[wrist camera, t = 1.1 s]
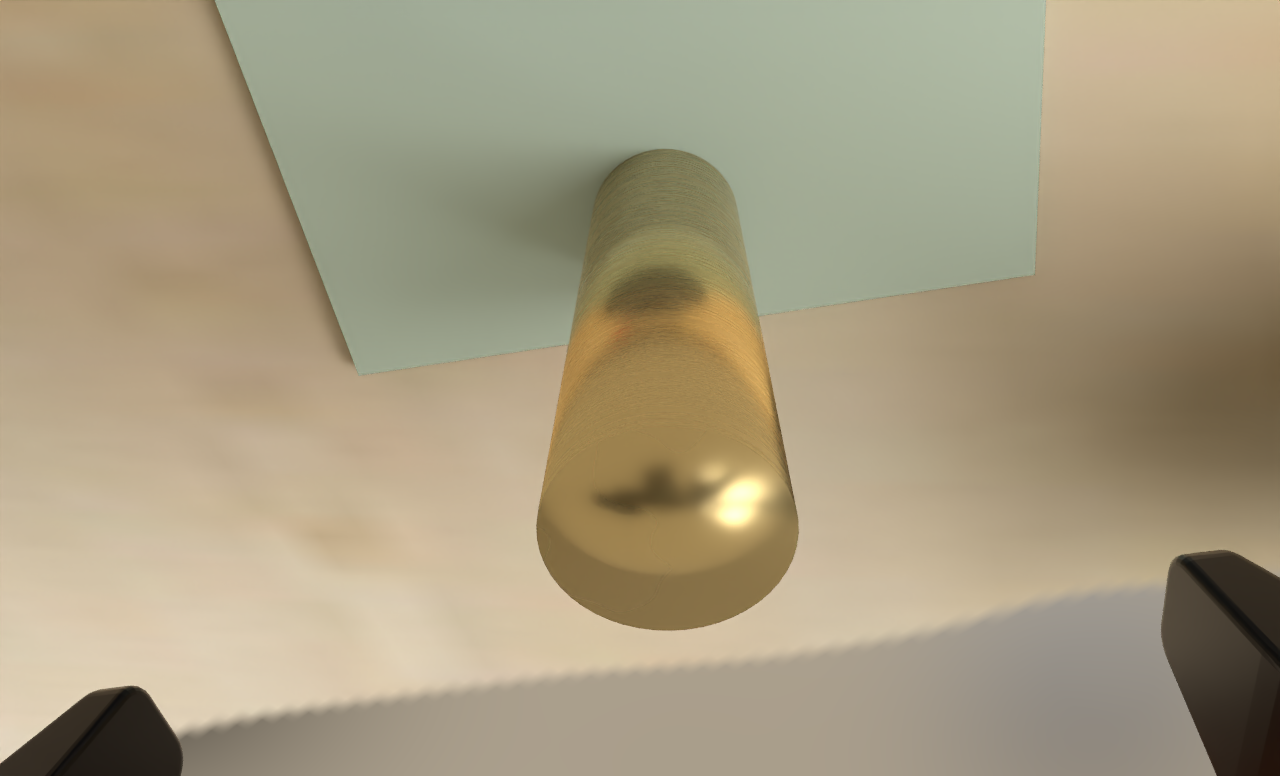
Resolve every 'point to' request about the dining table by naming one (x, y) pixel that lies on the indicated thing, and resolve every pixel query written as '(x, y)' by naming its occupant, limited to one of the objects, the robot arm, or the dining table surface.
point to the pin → (666, 412)
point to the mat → (638, 148)
